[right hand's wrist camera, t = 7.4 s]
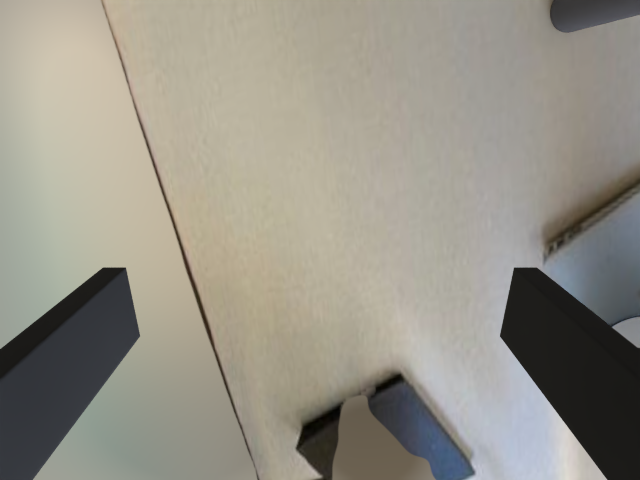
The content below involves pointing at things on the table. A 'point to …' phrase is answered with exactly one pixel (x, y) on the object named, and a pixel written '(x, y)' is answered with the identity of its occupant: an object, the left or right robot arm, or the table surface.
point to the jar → (590, 12)
